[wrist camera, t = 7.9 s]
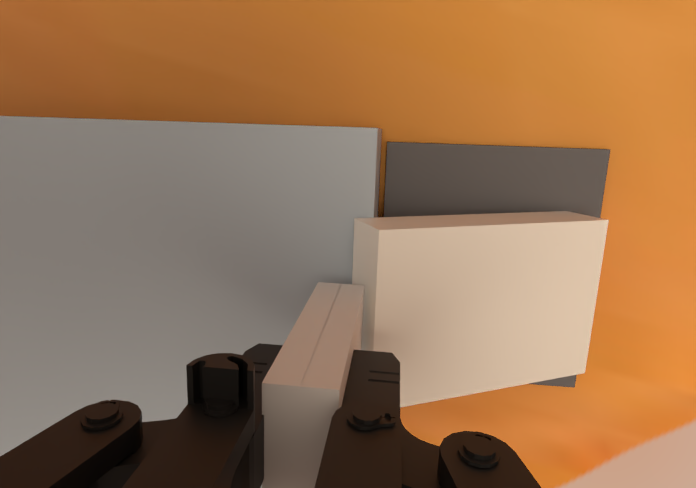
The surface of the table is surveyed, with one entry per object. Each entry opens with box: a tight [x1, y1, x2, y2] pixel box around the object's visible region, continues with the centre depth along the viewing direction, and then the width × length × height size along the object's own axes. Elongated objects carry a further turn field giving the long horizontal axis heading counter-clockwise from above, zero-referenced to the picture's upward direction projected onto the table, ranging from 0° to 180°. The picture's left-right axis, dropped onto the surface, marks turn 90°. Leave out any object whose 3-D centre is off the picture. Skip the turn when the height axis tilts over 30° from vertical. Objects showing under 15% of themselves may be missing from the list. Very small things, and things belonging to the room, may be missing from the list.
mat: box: [384, 142, 610, 387], centre depth 20 cm, size 10×8×1 cm
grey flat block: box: [0, 116, 382, 488], centre depth 20 cm, size 14×18×4 cm
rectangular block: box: [352, 211, 609, 407], centre depth 18 cm, size 6×9×2 cm, turn 88°
